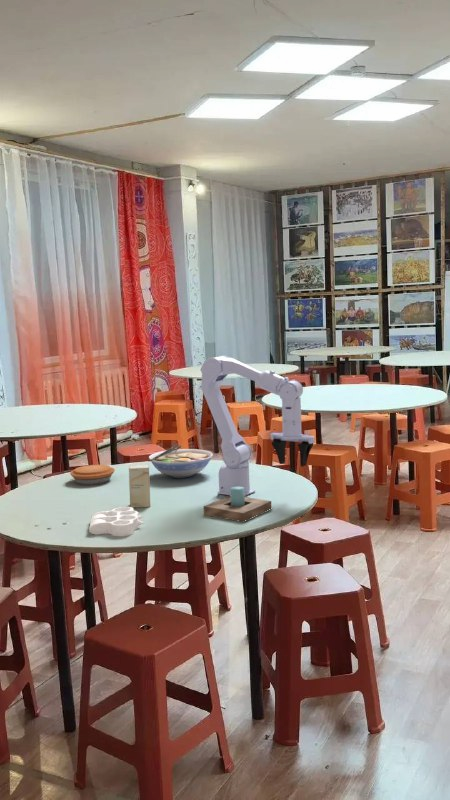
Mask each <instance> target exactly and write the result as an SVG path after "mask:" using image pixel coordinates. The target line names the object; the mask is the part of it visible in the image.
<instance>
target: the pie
mask: <svg viewBox="0 0 450 800" xmlns="http://www.w3.org/2000/svg"><path fill="white" fill-rule="evenodd" d="M115 471H116V470H115V468H114V467H111V466H110V465H106V464H91V465H81V466H78V467H76V468H74V469H73V470H72V471H70V473H69V474H70V476H71V477H72V478H73V479H74V481H75V482H76V483H77V484H78V485H82V486H83V485H84V486H92V485H100V484H105V483H108V482H109V481H110V480H111V477H112V476H113V474H114V473H115Z"/></svg>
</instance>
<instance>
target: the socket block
mask: <svg viewBox="0 0 450 800" xmlns="http://www.w3.org/2000/svg"><path fill="white" fill-rule="evenodd" d="M271 508H272V500H269V499H268V500H267V499H261V498H254V497H248V496H245V506H243V507H240V508H239V507H234V506H231V496H230V495H227V496H226V497H224V498H221V499H219V500H218V499H217V500H216V501H213V502H210V503H209V504H206V505H203V515H204V516H209V517H214V516H215V518H219V517H221V518H220V519H225V518H228V519H227V520H230V519H233V520H232V521H236V520H239V521H238V522H241V521H245V520H247V521H249V520H251V519H250V518H252V517H254V516H256V515H258V516H259V514H260V515H262V514H261V513H263V512H265V511H267V510H269V509H271ZM272 509H273V508H272ZM272 509H271V510H272ZM269 511H270V510H269ZM267 512H268V511H267ZM265 513H266V512H265ZM263 514H264V513H263ZM256 517H257V516H256ZM254 518H255V517H254ZM248 519H249V520H248ZM252 519H253V518H252ZM245 522H246V521H245Z"/></svg>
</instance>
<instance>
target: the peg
mask: <svg viewBox="0 0 450 800" xmlns="http://www.w3.org/2000/svg"><path fill="white" fill-rule="evenodd" d="M230 491H231V506H234V507H239V508H240V507H243V506H245V497H246V496H245V494H244V487H232V488H230Z"/></svg>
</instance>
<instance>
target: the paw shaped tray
mask: <svg viewBox="0 0 450 800" xmlns="http://www.w3.org/2000/svg"><path fill="white" fill-rule="evenodd" d="M143 518H144V516H143V515H141V514H140V512H139V511H137V510H135V507H133V508H132V507H130V506H119V507H115V508H113V509H112V510H111V509H110V510H108V511H107V510H105V511H103V510H102V511H98V512H95V513H94V514H92V515H91V520H90V522H89V523H90V525H89V527H88V530H89V531H88V532H89V533H90V534H92V535H101V534H111V536H113V537H114V536H115V537H126V536H131V535H133V534H135V530H136V531H137V530H138V529H140V526H142V525H144V522H143V521H141V519H143Z"/></svg>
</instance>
